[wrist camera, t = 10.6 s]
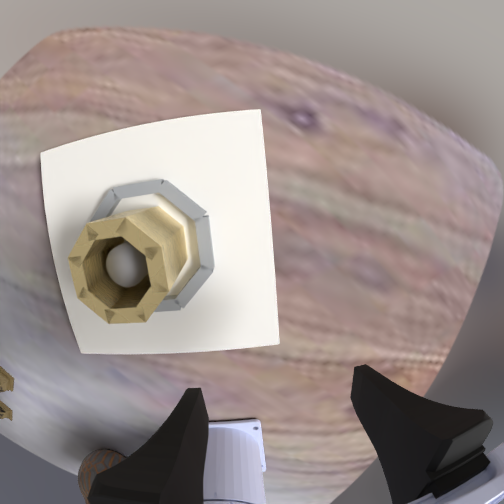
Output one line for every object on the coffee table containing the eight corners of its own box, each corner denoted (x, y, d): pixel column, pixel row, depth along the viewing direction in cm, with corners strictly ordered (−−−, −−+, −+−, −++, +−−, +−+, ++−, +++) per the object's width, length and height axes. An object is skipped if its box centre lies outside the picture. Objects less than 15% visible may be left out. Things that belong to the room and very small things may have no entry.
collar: (191, 279, 19) (175, 320, 13) (122, 286, 19) (85, 324, 13) (181, 203, 18) (156, 212, 12) (109, 213, 17) (61, 227, 12)
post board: (276, 334, 22) (290, 381, 16) (88, 344, 21) (57, 384, 15) (258, 114, 18) (269, 87, 12) (51, 153, 17) (2, 149, 12)
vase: (94, 433, 24) (70, 490, 15) (149, 460, 25) (136, 519, 17) (84, 455, 25) (64, 504, 16) (132, 479, 26) (120, 530, 18)
